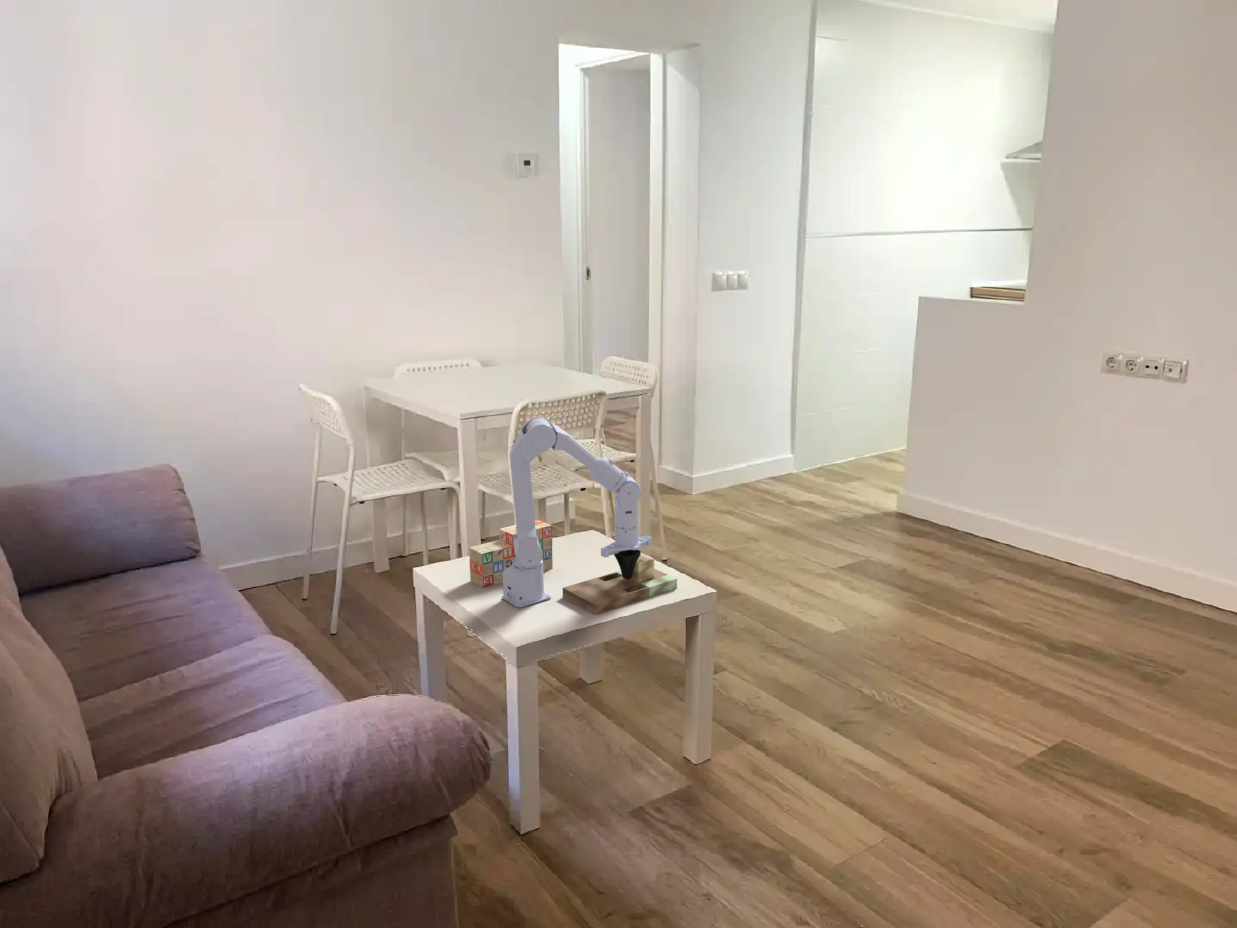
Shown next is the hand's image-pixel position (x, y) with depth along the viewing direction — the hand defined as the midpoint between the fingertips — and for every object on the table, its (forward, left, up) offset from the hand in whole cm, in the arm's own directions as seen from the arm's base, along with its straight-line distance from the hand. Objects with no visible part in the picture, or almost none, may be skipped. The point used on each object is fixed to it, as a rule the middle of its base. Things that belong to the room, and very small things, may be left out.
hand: (626, 577), depth 237 cm
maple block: (+4, 0, -1) cm, 4 cm away
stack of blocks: (-16, +27, -4) cm, 32 cm away
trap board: (-2, 0, -3) cm, 4 cm away
